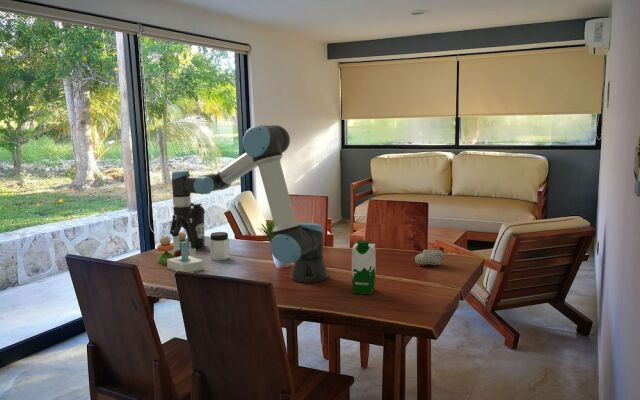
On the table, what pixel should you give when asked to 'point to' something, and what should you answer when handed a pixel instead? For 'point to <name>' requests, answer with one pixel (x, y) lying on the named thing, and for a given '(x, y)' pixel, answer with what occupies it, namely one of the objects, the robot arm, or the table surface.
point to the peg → (184, 251)
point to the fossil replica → (429, 257)
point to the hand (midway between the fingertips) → (184, 252)
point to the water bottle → (198, 224)
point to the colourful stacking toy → (170, 248)
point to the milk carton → (363, 267)
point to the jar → (219, 246)
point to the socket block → (185, 264)
